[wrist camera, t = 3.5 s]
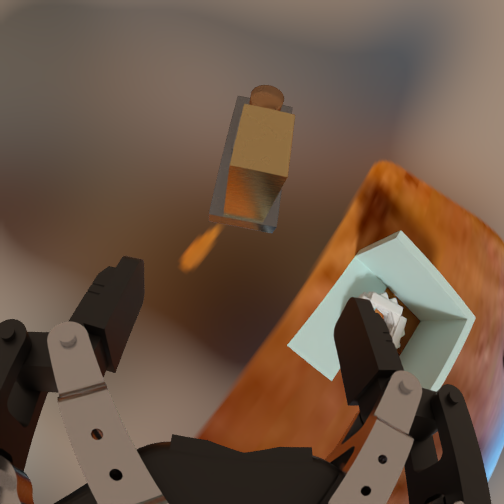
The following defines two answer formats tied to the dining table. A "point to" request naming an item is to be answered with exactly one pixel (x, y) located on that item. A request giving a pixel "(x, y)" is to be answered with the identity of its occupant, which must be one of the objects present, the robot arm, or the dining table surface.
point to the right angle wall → (393, 311)
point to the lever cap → (258, 162)
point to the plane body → (259, 97)
